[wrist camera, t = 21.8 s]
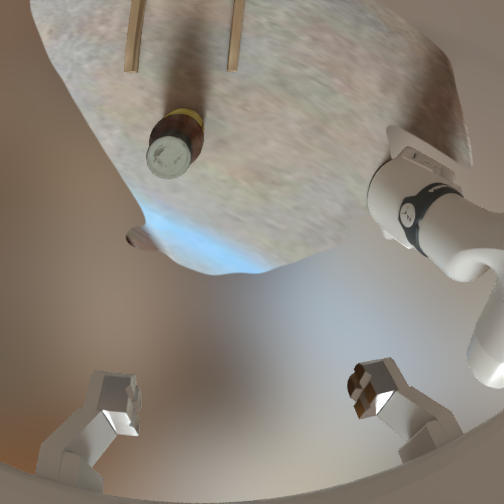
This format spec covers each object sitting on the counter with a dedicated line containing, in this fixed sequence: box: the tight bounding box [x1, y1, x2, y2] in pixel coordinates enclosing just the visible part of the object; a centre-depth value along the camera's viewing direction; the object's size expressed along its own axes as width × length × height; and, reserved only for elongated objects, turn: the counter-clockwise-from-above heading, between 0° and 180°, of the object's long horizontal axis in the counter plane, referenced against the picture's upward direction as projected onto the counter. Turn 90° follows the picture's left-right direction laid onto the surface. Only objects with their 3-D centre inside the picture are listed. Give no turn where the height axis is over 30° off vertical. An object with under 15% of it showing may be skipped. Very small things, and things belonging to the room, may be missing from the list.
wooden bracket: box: [124, 0, 244, 73], centre depth 31 cm, size 16×14×4 cm
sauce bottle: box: [146, 108, 204, 179], centre depth 32 cm, size 7×6×20 cm
